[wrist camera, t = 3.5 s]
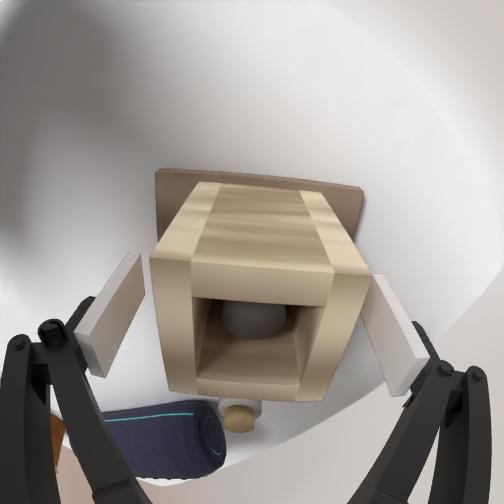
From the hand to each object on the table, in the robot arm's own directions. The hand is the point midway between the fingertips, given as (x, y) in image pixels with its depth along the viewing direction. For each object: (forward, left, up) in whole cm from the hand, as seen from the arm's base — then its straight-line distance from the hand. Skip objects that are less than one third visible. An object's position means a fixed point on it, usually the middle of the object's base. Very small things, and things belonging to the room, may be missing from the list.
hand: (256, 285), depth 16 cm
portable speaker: (+28, -12, -7) cm, 32 cm away
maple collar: (0, 0, -5) cm, 5 cm away
